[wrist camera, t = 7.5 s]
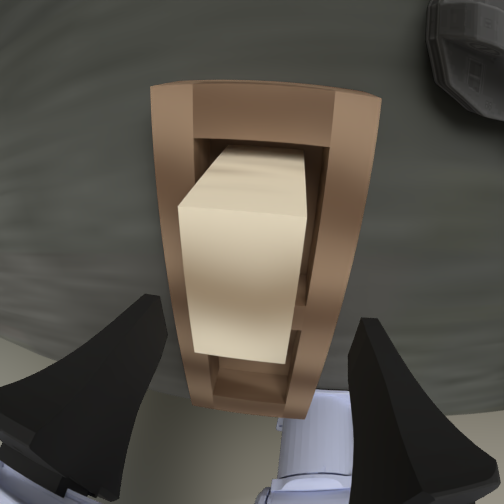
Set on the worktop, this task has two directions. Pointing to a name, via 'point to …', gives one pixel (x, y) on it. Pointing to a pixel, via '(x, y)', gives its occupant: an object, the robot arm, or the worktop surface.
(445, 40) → the dark grey angled stand
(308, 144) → the wooden compartment tray
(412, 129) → the worktop surface
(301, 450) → the robot arm
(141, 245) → the worktop surface
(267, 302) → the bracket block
